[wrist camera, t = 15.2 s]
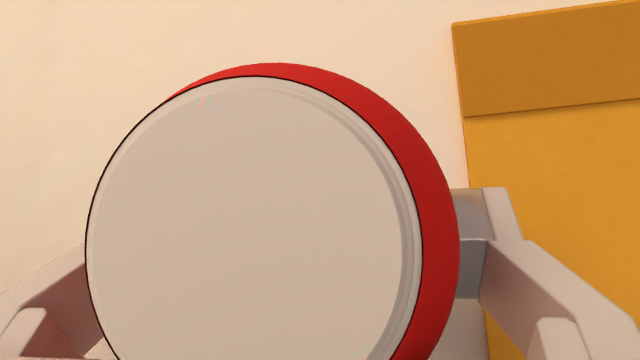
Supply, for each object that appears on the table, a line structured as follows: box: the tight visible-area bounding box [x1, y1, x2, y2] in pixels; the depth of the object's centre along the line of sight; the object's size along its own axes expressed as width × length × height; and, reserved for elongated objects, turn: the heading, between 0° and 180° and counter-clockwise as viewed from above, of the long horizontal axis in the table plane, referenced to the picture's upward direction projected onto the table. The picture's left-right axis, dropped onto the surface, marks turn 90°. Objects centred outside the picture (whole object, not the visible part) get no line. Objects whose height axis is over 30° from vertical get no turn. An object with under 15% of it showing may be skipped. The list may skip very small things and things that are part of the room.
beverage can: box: [84, 63, 460, 360], centre depth 12 cm, size 6×6×12 cm
